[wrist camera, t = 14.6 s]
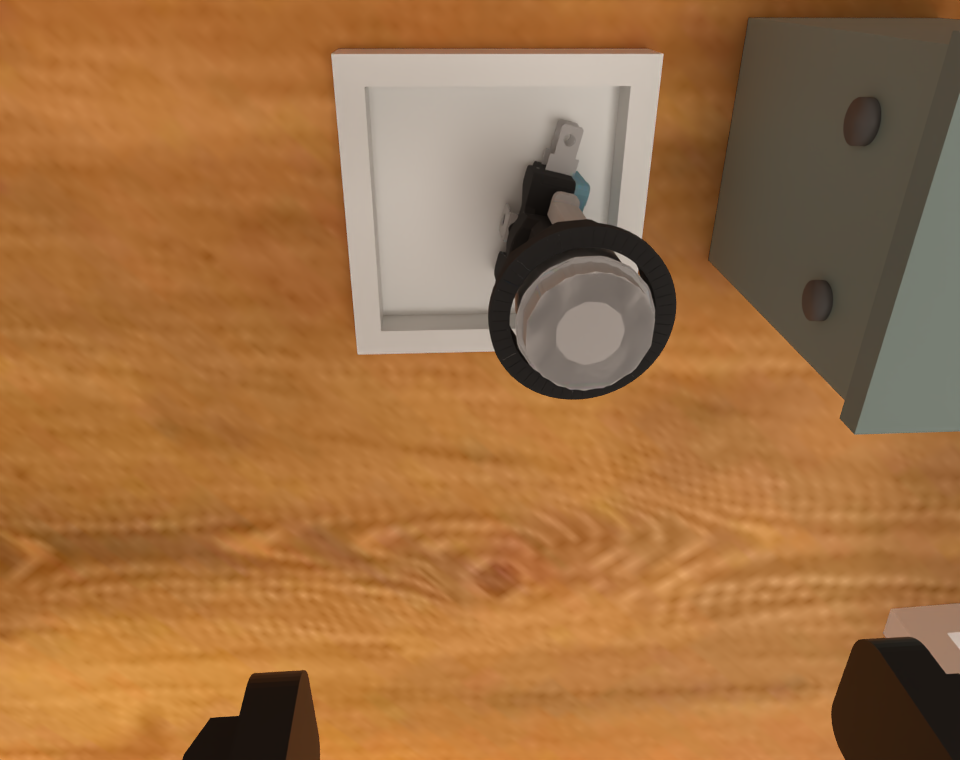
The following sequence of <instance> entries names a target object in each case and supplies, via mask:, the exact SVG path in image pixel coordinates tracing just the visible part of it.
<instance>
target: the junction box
mask: <svg viewBox="0 0 960 760" xmlns="http://www.w3.org/2000/svg"><path fill="white" fill-rule="evenodd" d="M708 260H709V261H710V262H711V263H712V264H713V265H714V266H715V267H716V268H717V269H718V270H719V271H720V272H721V274H722V275H723V276H724V277H725V278H726V279H727V280H728V281H729V282H730V283H731V284H732V285H733V286H734V287H735V288H736V289H737V290H738V291H739V292H740V293H741V294H742V295H743V296H744V297H745V298H746V299H747V300H748V301H749V302H750V303H751V304H752V305H753V306H754V307H755V308H756V309H757V311H758V312H759V313H760V314H761V315H762V316H763V317H764V318H765V319H766V320H767V321H768V322H769V323H770V324H771V325H772V326H773V327H774V328H775V329H776V330H777V331H778V332H779V333H780V334H781V335H782V336H783V337H784V338H785V339H786V340H787V341H788V342H789V343H790V344H791V345H792V346H793V347H794V349H795V350H796V351H797V352H798V353H799V354H800V355H801V356H802V357H803V358H804V359H805V360H806V361H807V362H808V363H809V364H810V365H811V366H812V367H813V368H814V369H815V370H816V371H817V372H818V373H819V374H820V375H821V376H822V377H823V378H824V379H825V380H826V381H827V382H828V383H829V384H830V385H831V387H832V388H833V389H834V390H835V391H836V392H837V393H838V394H839V395H840V396H841V397H842V398H843V399H844V400H845V402H844V405H843V408H842V412H841V415H840V419H841V420H842V421H843V422H844V424H845V425H846V426H847V427H848V428H849V429H850V430H851V431H852V432H853V433H854V434H885V433H918V432H952V431H960V20H957V19H945V18H749V19H748V25H747V31H746V37H745V43H744V49H743V55H742V61H741V67H740V73H739V79H738V85H737V91H736V97H735V103H734V109H733V115H732V121H731V127H730V133H729V139H728V145H727V151H726V157H725V163H724V169H723V175H722V181H721V187H720V193H719V199H718V205H717V211H716V217H715V223H714V229H713V235H712V241H711V247H710V253H709V259H708Z"/></svg>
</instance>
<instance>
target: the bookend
mask: <svg viewBox="0 0 960 760" xmlns="http://www.w3.org/2000/svg"><path fill="white" fill-rule="evenodd" d="M883 634H884V635H885V637H886V638H893V637H913V638H916V639H917V640H919V641H920V642H921V643H922V644H924V645H925V647H926V648H927V649H928V650H929V652H930V653H931V654H932V656H933V657H934V658H935V660H936V661H937V662H938V664H939V665H940V666H941V668H942V669H943V670H944V672H945V673H946V674H956V673H959V674H960V603H955V604H943V605H931V606H919V607H907V608H894V609H891V610H890V613H889V616H888V620H887V623H886V626H885V629H884V632H883Z"/></svg>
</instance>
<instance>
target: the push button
mask: <svg viewBox="0 0 960 760" xmlns="http://www.w3.org/2000/svg"><path fill="white" fill-rule="evenodd" d="M583 132H584V130H583V128H581V127H579V126H578V124H577V123H575V122H571V121H567V120H563V119H560V120H558V122H557V125H556V129H555V132H554V136H553V139H552V143H551V147H550V149H549V148H546V149H545V153H544V157H543V160H542V162H537V161H534V163H533V165H528V166H527V169H526V172H525V176H524V179H523V187H522V205H521V209H520V212H519V214H515V213H512V212H511V210H510V207H509V204H508V203H506V204H505V206H504V210H503V214H502V218H501V221H500V226H499V232H500V235H501V238H502V241H504V242H507V243H506V252H502V251H500V252H499V254H498V257H497V261H496V265H495V269H494V276H495V280H496V281H495V285H494V287H493V290H492V293H491V297H490V301H489V307H488V326H489V332H490V337H491V341H492V345H493V348H494V350H495V353H496V355H497V357H498V359H499V360H500V362H501V364H502V365H503V366H504V368H505V369H506V370H507V371H508V372H509V374H510V375H511V376H512V377H513V378H515V379H516V380H517V381H518V382H520V383H521V384H522V385H524V386H525V387H527V388H529V389H531V390H533V391H535V392H537V393H540V394H542V395H546V396H549V397H554V398H559V399H587V398H593V397H598V396H601V395H605V394H608V393H610V392H613V391H615V390H617V389H620V388H622V387H624V386H625V385H627V384H629V383H630V382H632V381H633V380H635V379H636V378H637V377H639V376H640V375H641V374H642V373H643V372H645V371H646V370H647V369H648V368H649V367H650V366H651V365H652V364H653V363H654V361H655V360H656V359H657V357H658V356H659V355H660V353H661V352H662V350H663V349H664V347H665V345H666V343H667V341H668V339H669V337H670V334H671V331H672V328H673V325H674V321H675V314H676V293H675V288H674V284H673V281H672V278H671V275H670V273H669V271H668V269H667V267H666V265H665V264H664V262H663V261H662V259H661V258H660V257H659V255H658V254H657V253H656V252H655V251H654V250H653V248H652V247H651V246H649V245H648V244H647V243H646V242H645V241H644V240H642V239H641V238H640V237H638V236H637V235H635V234H633V233H631V232H630V231H627V230H625V229H622V228H620V227H616V226H613V225H609V224H603V223H597V222H595V221H593V220H591V219H586V217H585V216H584V214H583V210H584V206H586V203H587V200H588V197H589V193H590V185H589V184H588V183H587V182H586V181H585V180H584V178H583V177H582V176H581V175H580V173H579V172H578V171H576V169H577V166H578V163H579V160H576V159H575V158H576V155H577V152H578V149H579V145H580V142H581V139H582V135H583ZM569 134H570V138H569V139H568V140H566V141H564V138H565V136H567V135H569ZM574 141H575V142H574ZM504 219H505V220H504ZM614 252H617V253H619V254H621V255H623V256H625V257H627V258H629V259H630V260H632V261H633V262H634V263H635V264H636V265H637V267H638V270H639V273H640V276H639V275H638V273H637V272H636V271H635V270H634V269H633V268H631V267H630V266H628V265H626V264H624V263H622V262H621V261H620V259H619V258H618V257H617V255H616V254H615V253H614ZM514 298H515V312H516V318H515V329H516V335H515V334H514V332H513V330H512V329H511V327H510V312H511V307H512V303H513V300H514Z"/></svg>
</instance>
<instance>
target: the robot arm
mask: <svg viewBox="0 0 960 760" xmlns="http://www.w3.org/2000/svg"><path fill="white" fill-rule="evenodd" d="M831 717H832V726H833V731H834V735H835V738H836V741H837V744H838V746H839V748H840V751H841V753H842V754H843V756H844V758H845V760H960V674H959V673H956V674H946V673H945V672H944V670H943V669H942V668H941V666H940V665H939V664H938V662H937V661H936V660H935V658H934V657H933V656H932V654H931V653H930V652H929V650H928V649H927V648H926V647H925V645H924V644H922V643H921V642H920V641H919V640H917V639H916V638H913V637H893V638H877V639H861V640H858V641H857V642H856V643H855V644H854V646H853V648H852V650H851V653H850V656H849V659H848V662H847V665H846V667H845V670H844V673H843V676H842V679H841V682H840V684H839V687H838V690H837V693H836V696H835V698H834V701H833V705H832V711H831ZM183 760H320V744H319V734H318V728H317V723H316V717H315V711H314V706H313V700H312V695H311V689H310V683H309V678H308V674H307V672H306V671H305V670H302V671H285V672H268V673H254V674H252V675H251V677H250V678H249V681H248V684H247V687H246V691H245V695H244V699H243V703H242V707H241V711H240V715H239V716H232V717H216V718H210V719H209V721H208V722H207V724H206V725H205V726H204V728H203V729H202V730H201V732H200V733H199V735H198V736H197V737H196V739H195V740H194V741H193V743H192V744H191V746H190V747H189V748H188V750H187V751H186V753H185V754H184V756H183Z"/></svg>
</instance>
